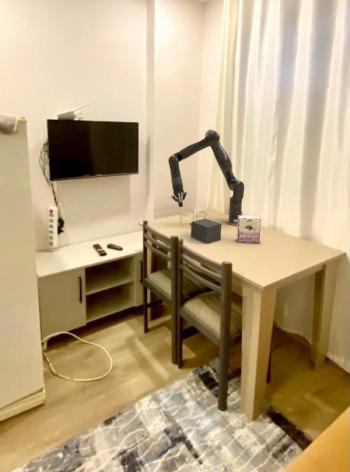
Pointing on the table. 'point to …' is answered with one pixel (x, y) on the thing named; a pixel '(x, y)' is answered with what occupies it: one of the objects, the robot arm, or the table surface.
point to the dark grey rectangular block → (206, 230)
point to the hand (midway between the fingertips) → (181, 206)
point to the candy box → (248, 229)
